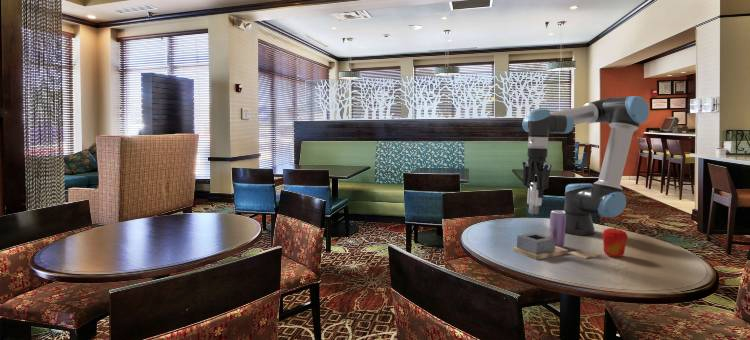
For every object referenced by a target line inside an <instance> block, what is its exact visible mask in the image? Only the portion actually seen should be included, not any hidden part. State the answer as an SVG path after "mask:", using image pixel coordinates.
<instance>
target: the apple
mask: <svg viewBox="0 0 750 340" xmlns="http://www.w3.org/2000/svg"><path fill="white" fill-rule="evenodd" d="M628 238H629V237H628V234H627V232H626V231H624V230H622V229H619V228H616V226H614V228H613V227H611V228H605V229H604V230H603V232H602V240H603V241H602V242H603V251H604V253H605V255H606V256H607V257H610V258H620V257H622V256H623V255H624V254H625V249H626V246H627V242H628Z"/></svg>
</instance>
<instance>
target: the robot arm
mask: <svg viewBox="0 0 750 340" xmlns="http://www.w3.org/2000/svg"><path fill="white" fill-rule="evenodd" d="M649 116H650V108H649V104H648V102H647V100H646V99H645V98H644V97H642V96H639V95H637V96H636V95H634V96H633V95H630V96H617V97H605V98H602V99H598V100H595V101H592V102H587V103H585V104H583V105H580V106H577V107H571V108H567V109H562V110H557V111H552V112H551V110H550V109H545V108H544V109H543V108H542V109H541V108H535V109H533V108H532V109H531V110H530V113H529V115H528V116H525V117H524V118H523V120H522V124H521V125H522V129H523V131H525V132H526V133H528V142H527V147H528V148H527V157H528V159H527V161H523V162H522V167H523V169H522V170H523V172H522V173H523V177H522V178H523V179H522V184H523V185H522V186H525V187H526V197H527V200H526V204H528V205H529V198H530V186H529V183H531V182H535V177H536V183H537V185H538V189H537V190H536V199H535V206H539V207H540V206H542V205H543V204H542V203H543V198H544V190H547V189H549V183H550V172H551V169H552V164H548V163H547V161H546V158H548V151H549V150H548V147H549V136H550V134H569V133H570V132H572V131H573V129H574V126H575V125H580V124H584V123H587V124H595V123H596V124H597V123H605V124H606V123H607V124H608V126H609V127H610V132H609V137H608V141H607V144H606V149H605V152H604V157H603V161H602V164H601V168H600V172H599V175H598V180H596V181H595V182H593V183H569V184H567V185H566V186H565V192H564V205H563V206H564V207H563V211H565V212H566V226H565V234H571V235H577V236H590V235H594V234H595V227H594V223H593V219H592V214H593V215H597V216H600V217H604V218H615V217H618V216H619V215H620V214H622V213H623V212H624V210H625V207H626V204H627V199H626V196H625V194H624V193H623V187H622V186H621V182H622V178H623V175H624V174H623V173H624V170H625V166H626V163H627V159H628V158H627V157H628V156H629V155H628V154H629V151H630V146H631V143H632V139H633V135H634V132H635V131H638V130H639V127H640V124H643V123H645V122H646V121H647V120H648V119H649Z"/></svg>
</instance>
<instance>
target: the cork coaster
mask: <svg viewBox="0 0 750 340" xmlns="http://www.w3.org/2000/svg"><path fill="white" fill-rule="evenodd" d="M568 254H570V255H572V256H575V257H578V258H581V259H584V260H586V259H591V258H592V259H593V258H597V257H598V254H595V253H593V252H590V251H586V250H582V249H579V250H573V251H570V252H568Z"/></svg>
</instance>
